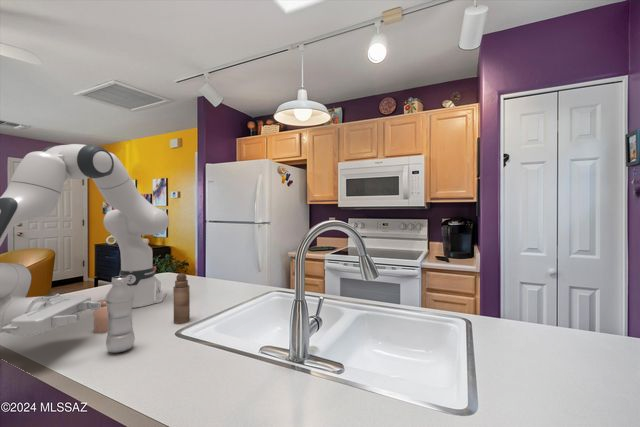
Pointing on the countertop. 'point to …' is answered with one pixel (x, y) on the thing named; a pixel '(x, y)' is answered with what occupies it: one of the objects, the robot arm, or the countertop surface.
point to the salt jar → (101, 318)
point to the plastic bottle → (119, 316)
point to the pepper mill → (181, 300)
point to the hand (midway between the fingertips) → (89, 311)
